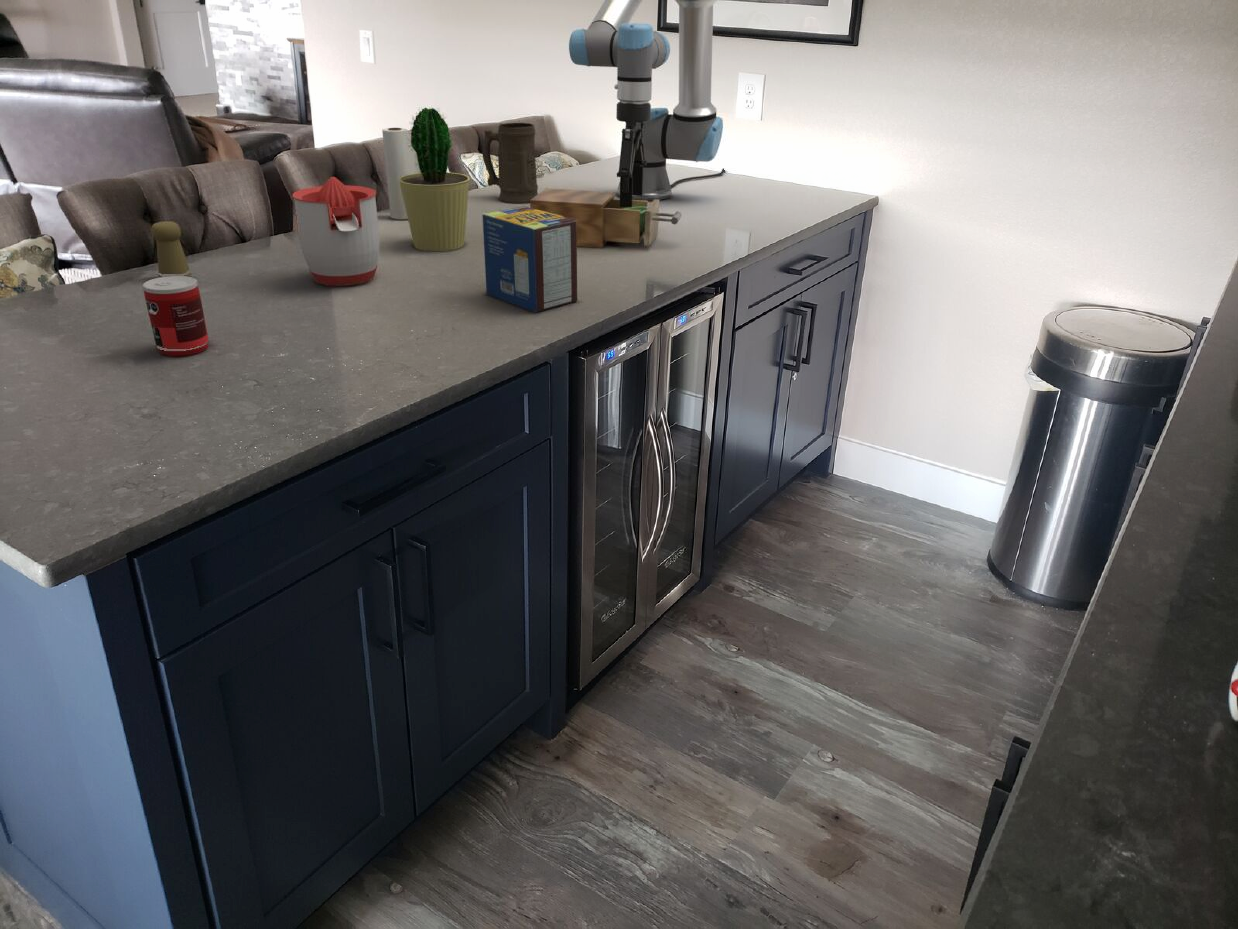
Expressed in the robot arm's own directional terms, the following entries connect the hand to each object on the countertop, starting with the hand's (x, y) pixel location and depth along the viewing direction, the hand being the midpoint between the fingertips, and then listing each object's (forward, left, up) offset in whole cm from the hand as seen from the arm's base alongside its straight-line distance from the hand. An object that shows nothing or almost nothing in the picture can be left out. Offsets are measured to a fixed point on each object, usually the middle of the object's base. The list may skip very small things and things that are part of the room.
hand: (631, 200), depth 212 cm
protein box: (+47, -11, -10) cm, 49 cm away
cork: (+52, -83, -10) cm, 98 cm away
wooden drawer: (0, +1, -8) cm, 9 cm away
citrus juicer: (+45, -50, -10) cm, 68 cm away
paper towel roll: (-9, -60, -10) cm, 61 cm away
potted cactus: (+14, -42, -10) cm, 45 cm away
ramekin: (0, 0, -7) cm, 7 cm away
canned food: (+87, -58, -10) cm, 105 cm away
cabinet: (0, -14, -9) cm, 17 cm away
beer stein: (-38, -41, -10) cm, 57 cm away
